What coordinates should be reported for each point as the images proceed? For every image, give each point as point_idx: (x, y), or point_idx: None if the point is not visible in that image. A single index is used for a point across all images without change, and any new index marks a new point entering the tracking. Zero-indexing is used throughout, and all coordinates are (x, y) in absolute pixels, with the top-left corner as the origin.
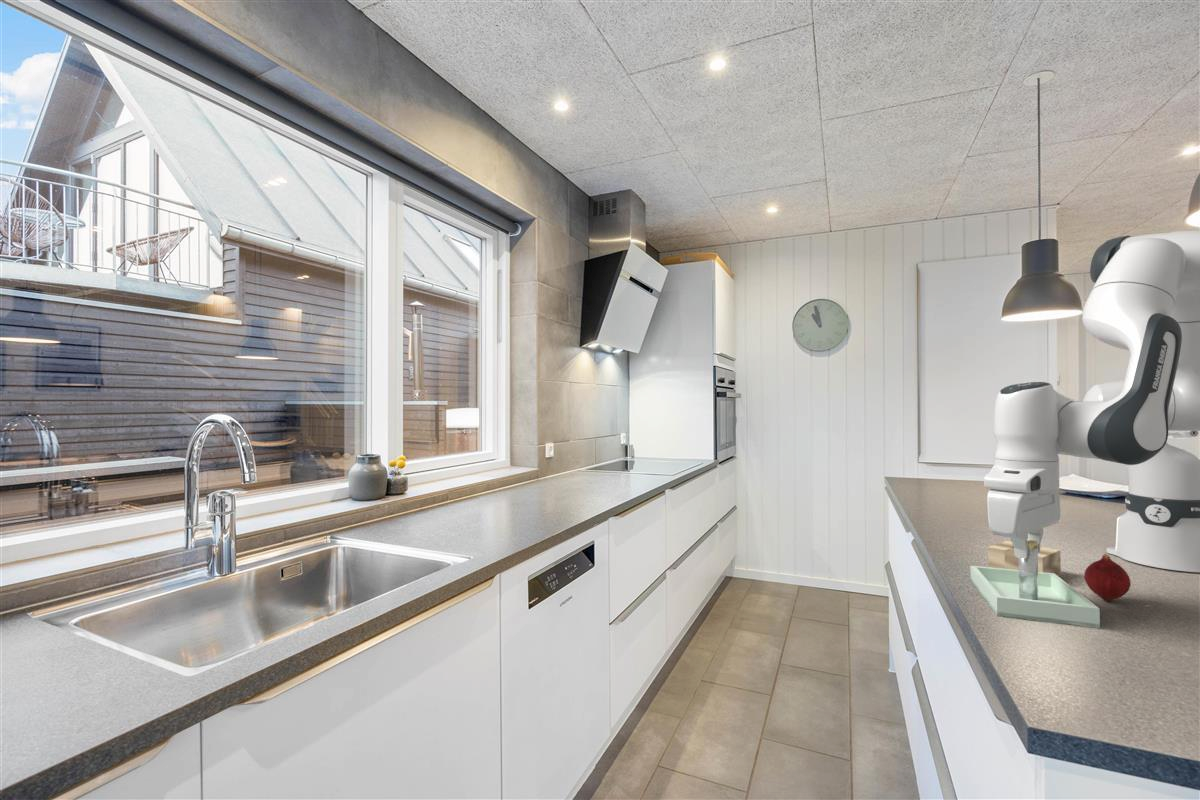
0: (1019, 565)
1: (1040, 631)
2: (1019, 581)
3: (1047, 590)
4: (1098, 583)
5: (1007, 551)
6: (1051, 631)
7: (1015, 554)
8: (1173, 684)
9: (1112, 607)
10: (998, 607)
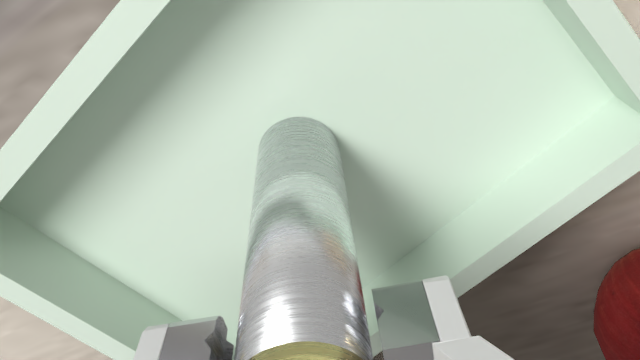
0: (253, 244)
1: (19, 331)
2: (259, 180)
3: (531, 120)
4: (603, 331)
5: None
6: (61, 341)
7: (145, 341)
8: None
9: (554, 297)
10: None
